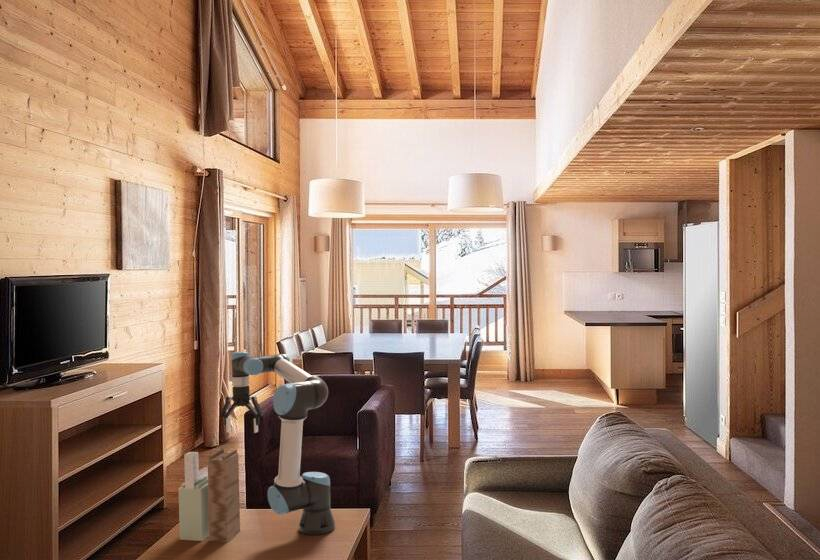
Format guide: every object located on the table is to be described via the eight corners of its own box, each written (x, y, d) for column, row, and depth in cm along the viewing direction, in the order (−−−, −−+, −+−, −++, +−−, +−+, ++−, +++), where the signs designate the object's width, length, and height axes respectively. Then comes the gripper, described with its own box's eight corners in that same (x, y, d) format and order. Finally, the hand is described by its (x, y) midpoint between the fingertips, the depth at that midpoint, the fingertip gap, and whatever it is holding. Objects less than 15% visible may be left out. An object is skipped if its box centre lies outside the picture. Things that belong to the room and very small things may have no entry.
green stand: (216, 529, 275) (215, 476, 275) (202, 541, 263) (200, 485, 263) (195, 528, 277) (193, 475, 277) (179, 539, 265) (178, 484, 265)
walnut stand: (240, 531, 272) (238, 449, 272) (227, 542, 261) (225, 456, 261) (222, 530, 274) (220, 448, 274) (209, 540, 263) (207, 456, 263)
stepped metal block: (209, 473, 284) (209, 441, 284) (218, 474, 283) (217, 442, 283) (185, 488, 264) (184, 454, 264) (194, 489, 264) (193, 454, 264)
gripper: (269, 384, 297) (271, 430, 297) (219, 384, 302) (221, 429, 302) (262, 386, 290) (264, 434, 290) (211, 387, 295) (213, 433, 295)
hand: (242, 432), depth 296 cm, fingers open, 13 cm apart
